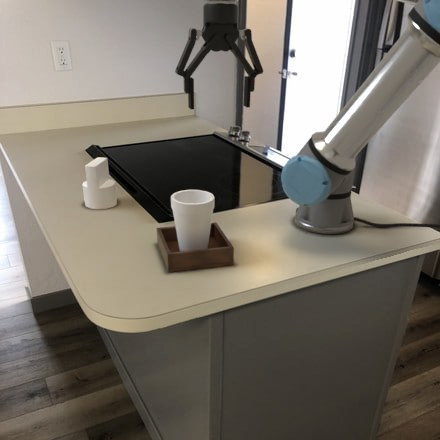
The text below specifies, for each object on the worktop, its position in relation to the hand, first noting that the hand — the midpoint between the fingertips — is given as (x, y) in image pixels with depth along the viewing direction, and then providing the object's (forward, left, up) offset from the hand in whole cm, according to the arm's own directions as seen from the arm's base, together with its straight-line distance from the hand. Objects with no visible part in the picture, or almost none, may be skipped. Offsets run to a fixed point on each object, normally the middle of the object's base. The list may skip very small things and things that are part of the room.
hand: (219, 107), depth 115 cm
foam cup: (+2, +21, -28) cm, 35 cm away
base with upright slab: (+35, -6, -29) cm, 46 cm away
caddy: (+2, +21, -29) cm, 36 cm away
